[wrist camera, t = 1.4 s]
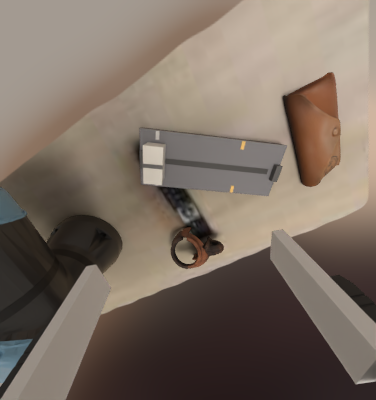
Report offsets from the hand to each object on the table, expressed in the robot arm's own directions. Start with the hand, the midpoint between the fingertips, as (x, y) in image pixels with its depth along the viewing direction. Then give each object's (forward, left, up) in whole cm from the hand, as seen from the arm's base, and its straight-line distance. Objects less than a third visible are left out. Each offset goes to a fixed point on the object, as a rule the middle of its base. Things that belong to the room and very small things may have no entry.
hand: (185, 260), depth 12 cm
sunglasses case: (+23, +10, -23) cm, 34 cm away
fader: (-5, +3, -20) cm, 21 cm away
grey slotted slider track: (+5, +3, -22) cm, 23 cm away
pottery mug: (+5, -17, -23) cm, 29 cm away
